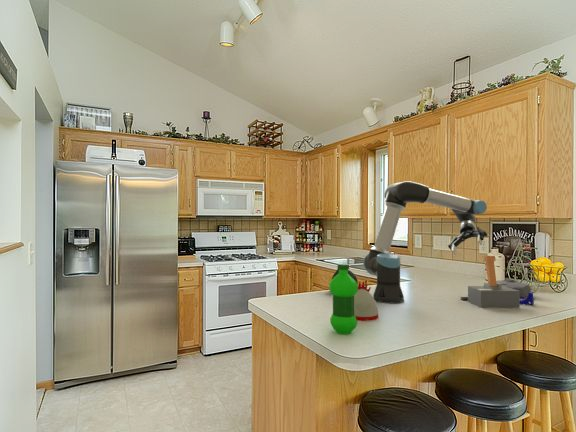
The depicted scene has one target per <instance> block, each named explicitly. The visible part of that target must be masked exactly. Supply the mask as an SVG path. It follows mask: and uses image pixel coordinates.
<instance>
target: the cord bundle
mask: <svg viewBox="0 0 576 432" xmlns="http://www.w3.org/2000/svg"><path fill="white" fill-rule="evenodd" d="M460 300H461V301H468V296H460Z"/></svg>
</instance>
